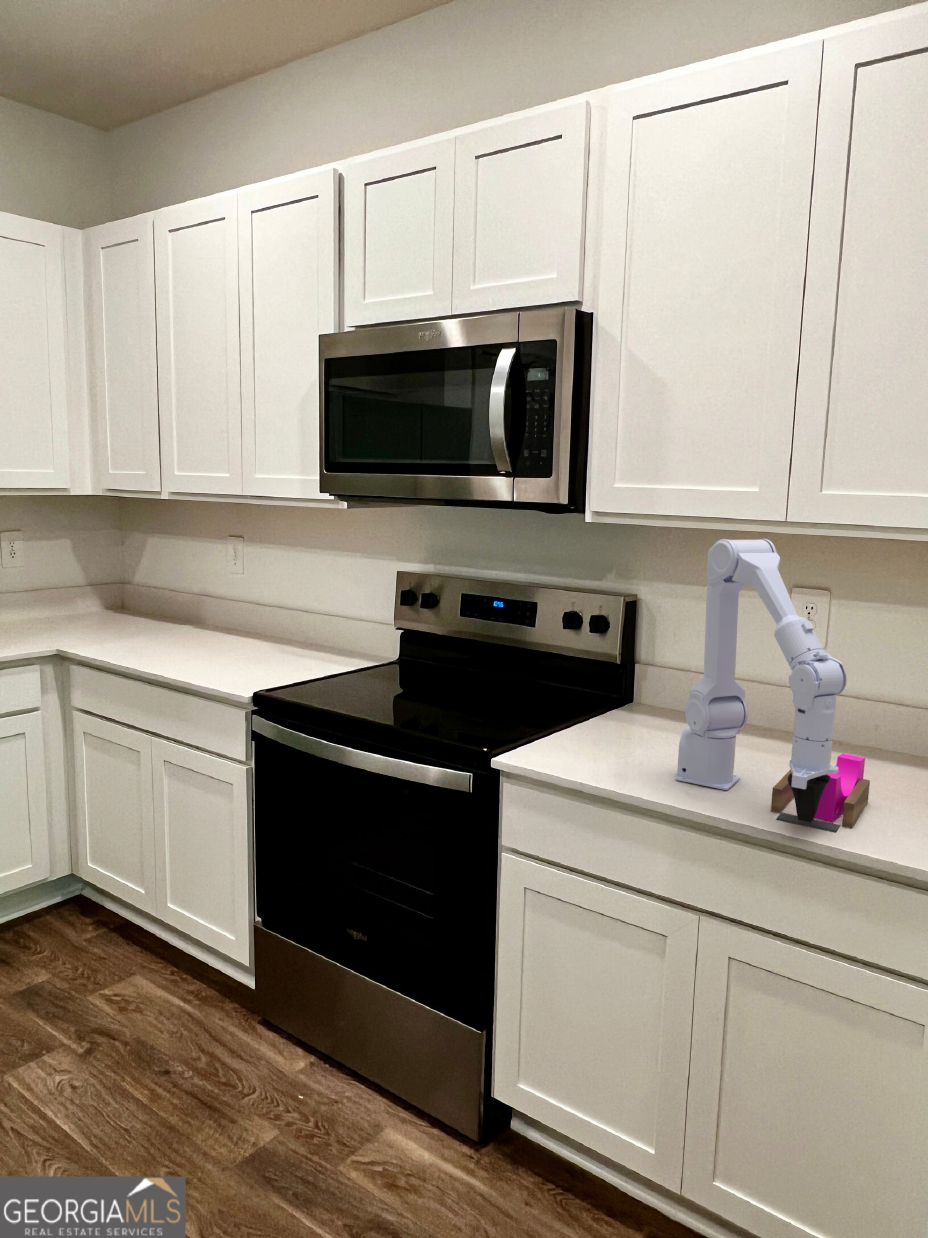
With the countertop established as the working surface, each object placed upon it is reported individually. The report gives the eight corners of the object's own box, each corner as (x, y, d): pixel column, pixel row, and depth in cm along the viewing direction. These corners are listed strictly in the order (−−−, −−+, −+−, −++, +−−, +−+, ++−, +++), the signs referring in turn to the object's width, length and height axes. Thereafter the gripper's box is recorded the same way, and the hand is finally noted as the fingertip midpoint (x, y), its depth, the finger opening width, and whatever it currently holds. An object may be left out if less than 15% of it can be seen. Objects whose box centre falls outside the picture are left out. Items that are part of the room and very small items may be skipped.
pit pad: (776, 819, 145) (776, 818, 144) (781, 814, 147) (781, 812, 147) (835, 832, 140) (836, 830, 140) (839, 826, 142) (839, 825, 142)
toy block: (824, 791, 159) (827, 750, 158) (861, 800, 155) (865, 758, 154) (793, 814, 148) (797, 770, 146) (832, 824, 144) (836, 779, 143)
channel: (770, 811, 148) (772, 787, 148) (791, 787, 160) (793, 766, 159) (852, 828, 141) (854, 804, 141) (867, 803, 153) (870, 780, 152)
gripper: (830, 752, 131) (822, 841, 133) (849, 730, 143) (842, 812, 145) (780, 743, 135) (773, 830, 137) (803, 723, 147) (796, 802, 149)
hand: (805, 820), depth 142 cm, fingers closed
